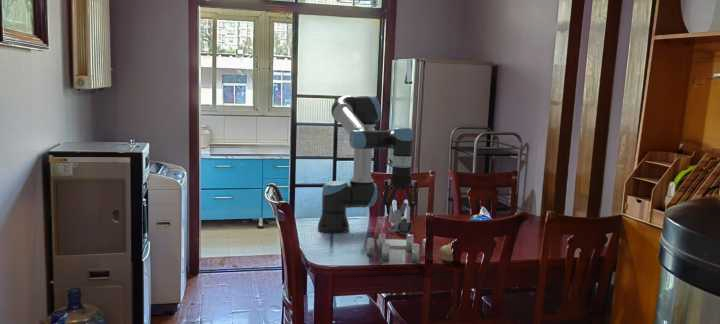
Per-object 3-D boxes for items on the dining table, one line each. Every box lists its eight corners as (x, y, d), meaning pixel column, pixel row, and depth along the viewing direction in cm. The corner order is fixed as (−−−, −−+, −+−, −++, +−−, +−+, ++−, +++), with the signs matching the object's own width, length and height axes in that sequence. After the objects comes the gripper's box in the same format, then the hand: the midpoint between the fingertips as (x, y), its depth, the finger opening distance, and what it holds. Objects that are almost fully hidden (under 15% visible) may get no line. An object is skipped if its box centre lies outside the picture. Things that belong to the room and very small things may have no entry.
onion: (461, 263, 215) (462, 246, 214) (442, 263, 213) (443, 246, 212) (453, 257, 222) (454, 240, 222) (435, 257, 221) (436, 241, 220)
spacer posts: (367, 262, 212) (368, 244, 211) (364, 249, 229) (365, 233, 229) (433, 263, 213) (434, 245, 212) (425, 250, 231) (425, 234, 230)
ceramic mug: (407, 230, 265) (407, 214, 265) (412, 234, 258) (413, 218, 257) (386, 230, 263) (387, 215, 262) (391, 235, 255) (391, 219, 254)
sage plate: (378, 248, 232) (378, 245, 232) (376, 241, 242) (376, 239, 242) (410, 248, 233) (410, 245, 233) (407, 242, 243) (407, 239, 242)
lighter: (393, 223, 217) (394, 204, 216) (390, 222, 219) (391, 203, 218) (406, 221, 222) (407, 202, 220) (404, 220, 223) (405, 201, 222)
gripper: (378, 166, 213) (375, 223, 216) (427, 168, 214) (424, 224, 217) (376, 164, 220) (374, 219, 223) (424, 165, 221) (421, 220, 224)
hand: (399, 221), depth 220 cm, fingers closed on lighter, 7 cm apart
